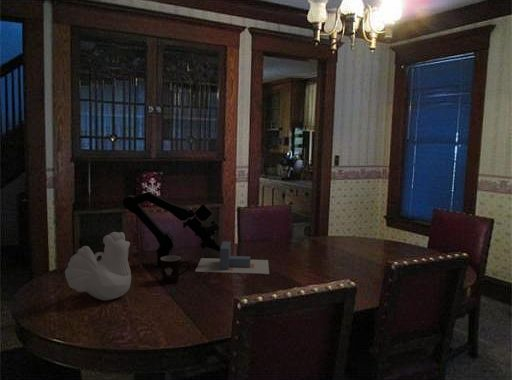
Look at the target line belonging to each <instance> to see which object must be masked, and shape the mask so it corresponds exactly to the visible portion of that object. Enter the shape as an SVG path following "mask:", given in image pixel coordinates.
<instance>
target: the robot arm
mask: <svg viewBox="0 0 512 380" xmlns="http://www.w3.org/2000/svg"><path fill="white" fill-rule="evenodd" d="M145 202H149V203H151V204H153V205H154V206H157V207H160V208H161V209H163V210H166V211H167V212H169V213H170V214H172V215H173V217H175V218H177V219H178V220H180V221H181V222H182V226H183V227H182V228H183V229H185V228H186V227H188V228H189V230H191V231H192V232H193V233H194V236H195V237H198V238H199V239H200V248H202V249H203V250H204V249H206V248H208V249H211V250H214V251H217V252H219V253H220V248H221V246H220V244H219V243H218V241H217V235H216V234H217V231H219V230H220V228H221V226H220V224H219V222H218V221H216V220H211V222H210V224H208V225H206V224H203V223H202V222H206V221H207V220H209V218H210V217H211V216H212V215H213V214H214V212H213V210H212V209H211V208H209V206H207V205H206V204H205V203H202V204H201V205H200V206H199V207H198V208H196V210H195V209H189V208H188V207H186V206H183V205H179V204H176V203H173V202H171V201H168V200H166V199H164V198H162V197H160V196H158V195H156V194H154V193H153V192H151V191H145V192H143V193H140V194H137V195H134V194H129V195H127V196H126V197H124V199H123V200H122V206H123V207H124V208H125V209H126V210H128V211H129V212H130V213H132V214H134V215H135V216H136V217H137V218H138V219H139V220H140V222H141V223H143V224H144V226H145V227H146V228H147V229H148V230H149V231H150V232H151V233H152V235H153V236H154V237H155V238H156V241H157V243H158V247H157V248H156V250H155V252H156V254H157V256H156V259H157V263H155V264H153V265H154V267H159V268H161V260H160V258H161V257H164V256H171V255H170V254H171V252H170V251H172V249H173V248H174V245H175V238H174V235H171V233H170V232H169V230H168V231H166V232H165V231H164V230H162V229H161V227H160V226H159V225H158V224H157V223H156V222H155V220H154V219H152V217H151V216H150V215H149V214H148V212H146V211H145V209H144V208H143V206H142V203H145Z"/></svg>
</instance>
